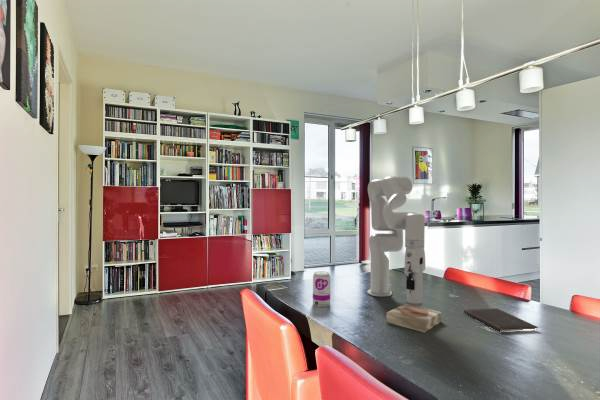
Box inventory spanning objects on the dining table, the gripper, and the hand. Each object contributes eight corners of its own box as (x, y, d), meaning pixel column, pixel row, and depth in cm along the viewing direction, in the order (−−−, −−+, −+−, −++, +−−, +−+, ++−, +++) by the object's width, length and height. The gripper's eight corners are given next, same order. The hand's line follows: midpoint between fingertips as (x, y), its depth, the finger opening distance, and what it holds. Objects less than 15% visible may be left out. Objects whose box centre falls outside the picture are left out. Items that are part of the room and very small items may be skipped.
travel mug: (418, 301, 149) (418, 253, 149) (425, 306, 143) (425, 256, 143) (403, 301, 149) (404, 253, 149) (409, 306, 142) (410, 256, 142)
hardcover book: (496, 313, 159) (496, 308, 159) (538, 332, 136) (538, 326, 136) (463, 314, 157) (463, 309, 157) (499, 335, 134) (499, 328, 134)
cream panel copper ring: (404, 312, 157) (404, 303, 157) (441, 321, 146) (441, 311, 146) (386, 322, 145) (386, 311, 145) (424, 332, 135) (424, 321, 135)
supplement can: (329, 308, 164) (329, 275, 164) (311, 306, 165) (311, 274, 165) (331, 302, 172) (331, 271, 171) (314, 301, 173) (314, 270, 173)
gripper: (414, 246, 137) (413, 293, 137) (432, 242, 150) (431, 285, 150) (396, 245, 142) (395, 290, 142) (415, 241, 155) (414, 282, 155)
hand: (414, 287), depth 146 cm, fingers closed on travel mug, 6 cm apart
